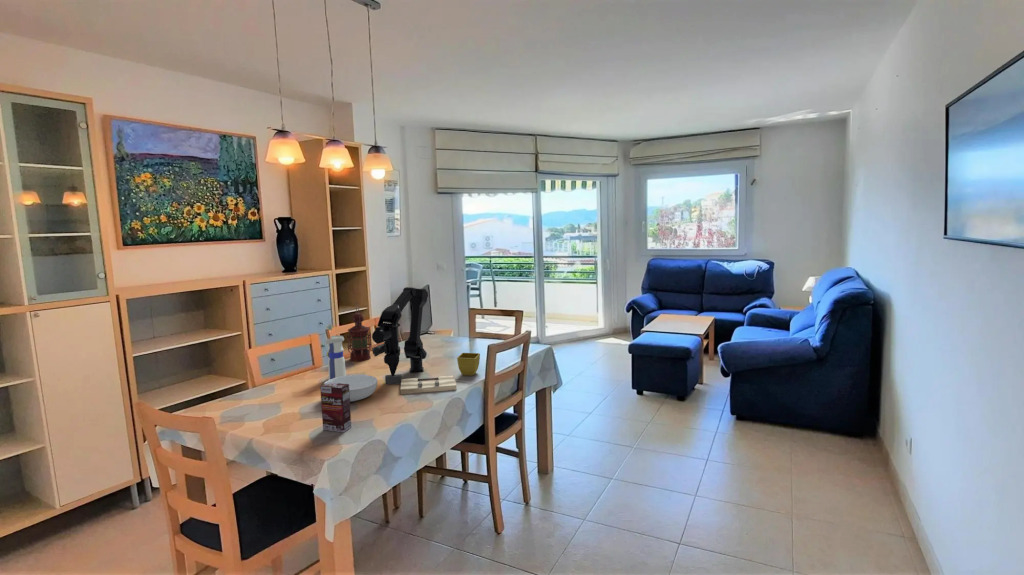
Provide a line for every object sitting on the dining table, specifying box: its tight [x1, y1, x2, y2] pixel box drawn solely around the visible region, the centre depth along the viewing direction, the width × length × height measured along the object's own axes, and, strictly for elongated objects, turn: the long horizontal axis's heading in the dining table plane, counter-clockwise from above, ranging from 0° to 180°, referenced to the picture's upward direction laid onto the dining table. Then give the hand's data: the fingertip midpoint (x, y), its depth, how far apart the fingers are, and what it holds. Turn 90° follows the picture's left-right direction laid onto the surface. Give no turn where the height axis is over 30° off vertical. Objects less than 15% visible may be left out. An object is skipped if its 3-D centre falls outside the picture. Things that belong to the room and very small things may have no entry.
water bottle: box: [325, 323, 347, 380], centre depth 234 cm, size 8×8×25 cm
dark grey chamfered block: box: [384, 373, 403, 386], centre depth 228 cm, size 3×7×4 cm, turn 100°
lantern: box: [346, 301, 373, 362], centre depth 268 cm, size 12×12×30 cm
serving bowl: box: [323, 374, 378, 403], centre depth 209 cm, size 21×21×7 cm
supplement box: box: [319, 382, 352, 433], centre depth 177 cm, size 9×5×16 cm, turn 75°
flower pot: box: [456, 352, 481, 376], centre depth 238 cm, size 9×9×9 cm
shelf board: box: [400, 375, 457, 395], centre depth 222 cm, size 14×23×4 cm, turn 100°
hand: (393, 372), depth 228 cm, fingers open, 9 cm apart
